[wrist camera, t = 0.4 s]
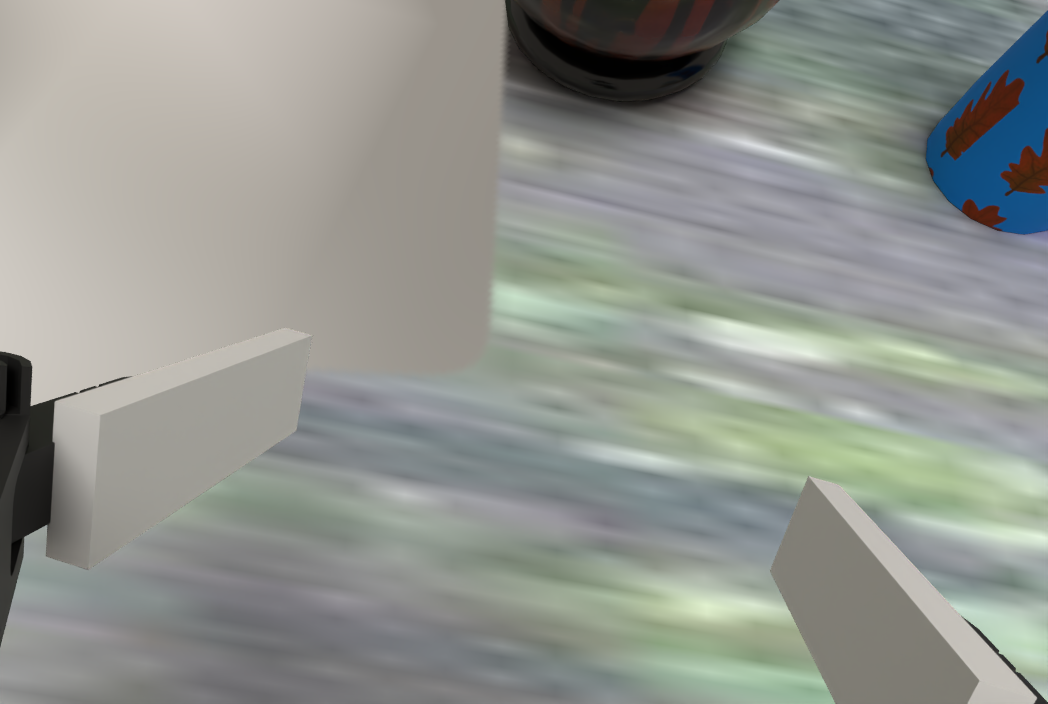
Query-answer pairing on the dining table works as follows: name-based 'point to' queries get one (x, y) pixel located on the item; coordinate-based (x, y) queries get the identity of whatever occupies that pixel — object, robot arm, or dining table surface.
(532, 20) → the amphora vase
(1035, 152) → the thermos
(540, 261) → the dining table surface
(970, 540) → the dining table surface
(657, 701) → the dining table surface
